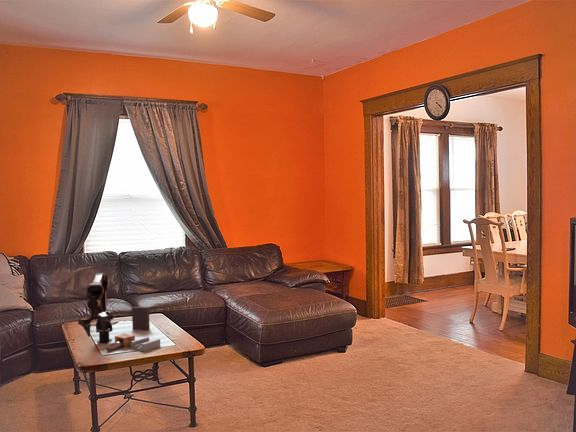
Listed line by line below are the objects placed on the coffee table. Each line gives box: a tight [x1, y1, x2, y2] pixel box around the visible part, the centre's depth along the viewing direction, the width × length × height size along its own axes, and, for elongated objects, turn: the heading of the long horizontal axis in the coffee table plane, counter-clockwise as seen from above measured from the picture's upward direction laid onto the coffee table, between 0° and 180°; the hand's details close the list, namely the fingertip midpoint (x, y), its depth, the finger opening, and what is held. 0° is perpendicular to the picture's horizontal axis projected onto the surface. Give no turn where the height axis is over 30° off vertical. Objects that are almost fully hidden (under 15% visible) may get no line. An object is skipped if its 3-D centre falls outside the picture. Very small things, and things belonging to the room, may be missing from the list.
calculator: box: [131, 306, 151, 332], centre depth 353 cm, size 11×4×15 cm, turn 74°
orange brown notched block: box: [114, 333, 136, 349], centre depth 315 cm, size 7×9×6 cm
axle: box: [105, 340, 124, 352], centre depth 311 cm, size 16×4×4 cm, turn 147°
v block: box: [130, 336, 161, 352], centre depth 310 cm, size 12×11×4 cm
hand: (96, 335), depth 296 cm, fingers open, 9 cm apart
